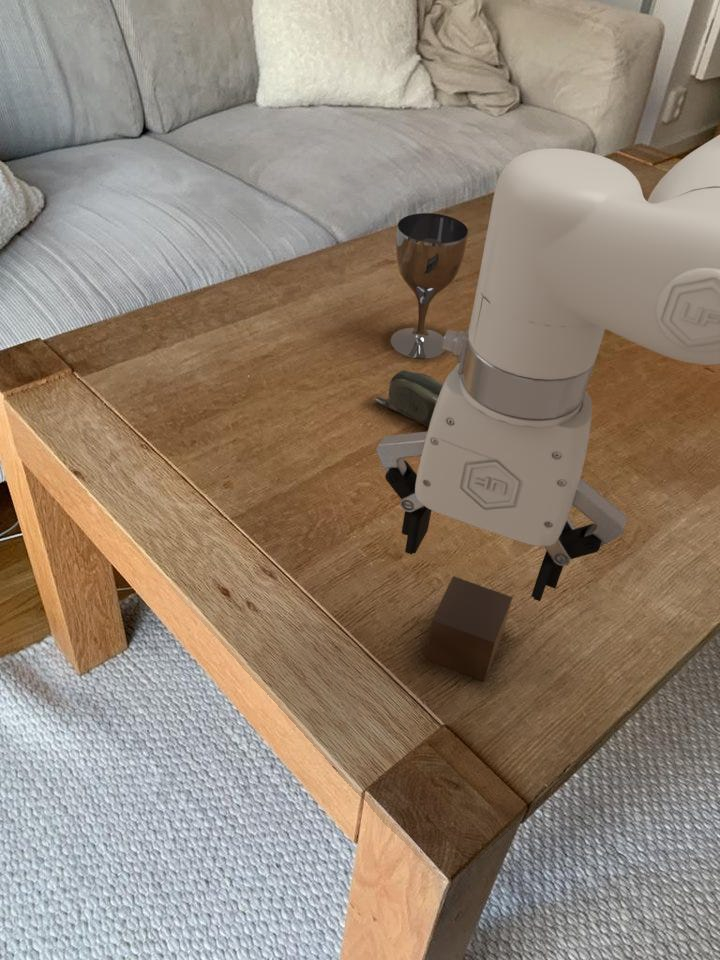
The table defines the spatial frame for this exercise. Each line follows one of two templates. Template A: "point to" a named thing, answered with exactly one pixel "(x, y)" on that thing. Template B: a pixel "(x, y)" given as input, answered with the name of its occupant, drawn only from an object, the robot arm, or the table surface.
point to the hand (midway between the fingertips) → (477, 563)
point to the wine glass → (427, 273)
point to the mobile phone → (413, 395)
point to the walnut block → (468, 628)
